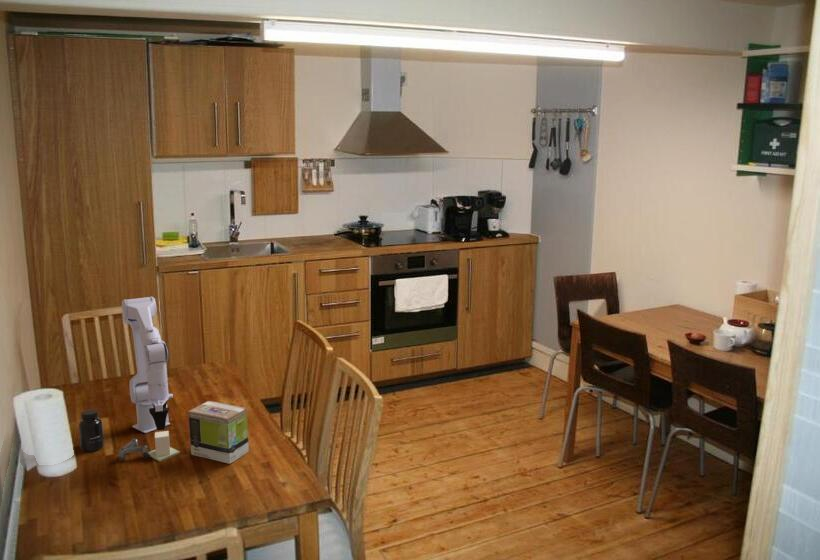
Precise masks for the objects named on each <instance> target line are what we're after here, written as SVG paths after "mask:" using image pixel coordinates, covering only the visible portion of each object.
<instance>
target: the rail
mask: <svg viewBox="0 0 820 560" xmlns="http://www.w3.org/2000/svg"><path fill="white" fill-rule="evenodd" d="M138 441H139V440H138V438H132V439H131V440H130V441H128V443H126V444H125V445H124V446H122V447H121V448H119V449H118V457H119V458H118V459H119V462H125V461H127V459H126V457H127V456H126V454H131V453H132V454H133V453H140V452H141V455H142V456H141V457H142V458H143V459H148V458H149V457H150V456H149V454H148V452H149V445H148V444H147V445H146V444H144V445H139V442H138Z"/></svg>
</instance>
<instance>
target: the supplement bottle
mask: <svg viewBox="0 0 820 560" xmlns="http://www.w3.org/2000/svg"><path fill="white" fill-rule="evenodd" d="M80 418H81V419H80V421H79V422H78V433H79V434H78V435H79V445H80V446H79V447H80V450H81V451H83V452H85V451H86V452H87V453H88V452H89V453H90V452H91V453H93V452H96V451H99V450H101V449H103V447H104V445H105V442H104V440H105V439H104V429H103V426H104V425H103V420H102V419H101V418H100V417H99V410H98V409H96V408H95V409H94V408H90V409H84V410H82V411H81V413H80ZM92 451H93V452H92Z"/></svg>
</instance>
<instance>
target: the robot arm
mask: <svg viewBox="0 0 820 560" xmlns="http://www.w3.org/2000/svg"><path fill="white" fill-rule="evenodd" d="M121 311H122V318H123V321H124V324H126V325H129V326H130V328H131V330H132V339H133V346H134V347H133V348H134V355H135V364H136V372H137V373H135V375H134V376H133V377H131V378H130V380H129V396H130V401H131V403H133V404H135V410H136V420H137V423H136V424H134V425H132V427H131V428H134V429H135V430H137V431H139V432H141V433H144V434H147V433H150V432H153V431H156V430H157V431H165V430H166V426H169V425H171V422H169V420H170V419H169V411H170V407H168V401H169V399H172V398H174V397H173V396H174V394H173V393H169V383H168V382H169V381H168V369H167V367H168V366H167V362H168V360H169V351H168V347H167V344H166V342H165V341H164V340H162V337H161V333H160V332H159V329H158V328H157V327H155V326H154V324H153V320H154V319H155V316H156V314H157V302H156V298H155V297H153V296H147V297H137V298H129V299H123V300H122V301H121Z"/></svg>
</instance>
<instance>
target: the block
mask: <svg viewBox="0 0 820 560" xmlns="http://www.w3.org/2000/svg"><path fill="white" fill-rule="evenodd" d="M169 432H170V431H169V430H162V431H155V432H154V442H155V443H154V445H155V450H156V456H161V455H168V454H170V447H171V446H170V445H171V444H170V436H169V435H170V433H169Z"/></svg>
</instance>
